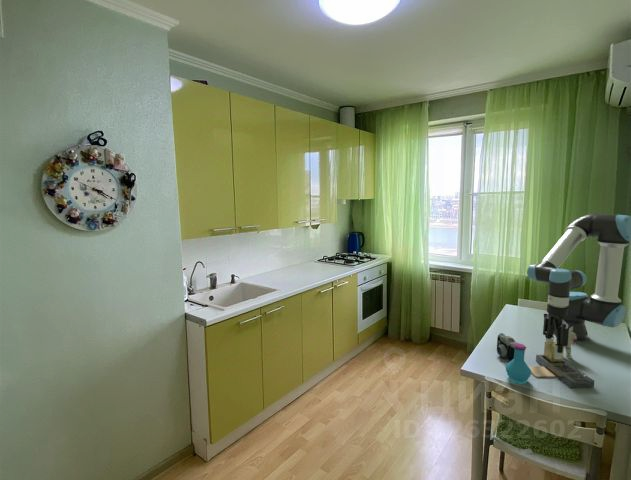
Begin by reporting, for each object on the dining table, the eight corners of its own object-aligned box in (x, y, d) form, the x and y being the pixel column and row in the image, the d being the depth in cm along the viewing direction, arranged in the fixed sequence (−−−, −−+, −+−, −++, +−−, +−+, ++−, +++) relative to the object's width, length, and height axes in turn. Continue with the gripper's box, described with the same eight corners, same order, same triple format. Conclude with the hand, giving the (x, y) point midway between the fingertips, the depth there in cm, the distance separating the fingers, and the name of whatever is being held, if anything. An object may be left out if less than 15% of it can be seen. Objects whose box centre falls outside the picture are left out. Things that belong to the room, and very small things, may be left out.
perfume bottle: (500, 374, 148) (502, 340, 145) (520, 372, 148) (523, 339, 146) (514, 386, 138) (516, 351, 136) (535, 385, 139) (538, 349, 137)
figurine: (578, 358, 160) (581, 327, 157) (568, 362, 156) (571, 330, 154) (560, 351, 167) (562, 321, 165) (550, 355, 163) (552, 324, 161)
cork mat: (543, 367, 152) (543, 366, 152) (555, 377, 144) (555, 376, 144) (524, 367, 152) (525, 366, 152) (536, 377, 144) (536, 376, 144)
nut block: (554, 362, 156) (556, 341, 155) (562, 368, 151) (564, 346, 150) (543, 363, 156) (544, 342, 155) (550, 368, 151) (552, 347, 150)
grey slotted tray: (555, 360, 158) (556, 354, 158) (593, 388, 136) (594, 380, 136) (535, 360, 158) (536, 354, 158) (570, 388, 136) (571, 381, 136)
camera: (489, 349, 170) (490, 330, 169) (502, 348, 170) (504, 329, 169) (506, 364, 156) (508, 343, 154) (521, 363, 156) (523, 342, 154)
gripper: (535, 298, 158) (532, 346, 162) (563, 312, 141) (558, 366, 144) (552, 298, 158) (548, 346, 162) (582, 312, 141) (576, 365, 144)
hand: (553, 355), depth 153 cm, fingers closed on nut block, 5 cm apart
